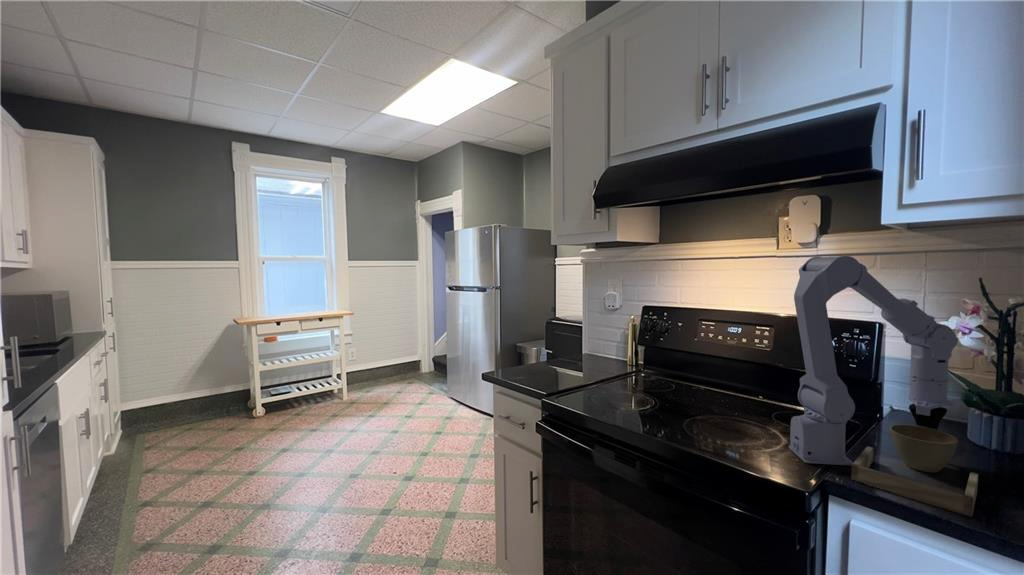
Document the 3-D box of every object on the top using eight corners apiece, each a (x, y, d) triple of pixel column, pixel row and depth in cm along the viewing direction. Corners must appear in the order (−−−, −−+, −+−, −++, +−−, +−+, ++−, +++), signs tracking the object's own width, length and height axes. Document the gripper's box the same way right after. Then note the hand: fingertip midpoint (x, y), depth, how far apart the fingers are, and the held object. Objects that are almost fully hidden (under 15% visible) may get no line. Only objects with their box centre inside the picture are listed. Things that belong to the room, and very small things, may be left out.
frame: (972, 517, 70) (972, 499, 69) (851, 480, 82) (851, 465, 82) (977, 489, 78) (978, 473, 78) (867, 459, 90) (867, 446, 90)
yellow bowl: (971, 481, 81) (972, 445, 80) (910, 477, 83) (911, 441, 82) (931, 457, 91) (932, 425, 90) (878, 454, 93) (878, 422, 92)
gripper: (951, 388, 82) (949, 456, 83) (959, 375, 91) (957, 436, 92) (903, 381, 88) (901, 445, 88) (914, 369, 97) (913, 427, 97)
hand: (927, 439), depth 90 cm, fingers closed
